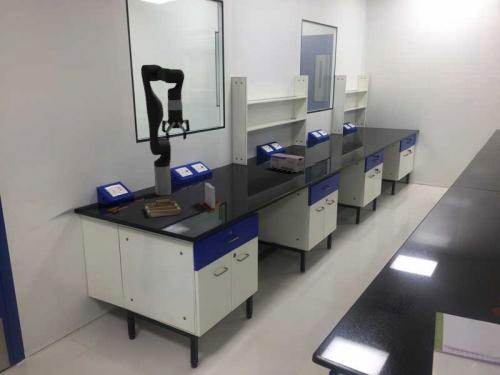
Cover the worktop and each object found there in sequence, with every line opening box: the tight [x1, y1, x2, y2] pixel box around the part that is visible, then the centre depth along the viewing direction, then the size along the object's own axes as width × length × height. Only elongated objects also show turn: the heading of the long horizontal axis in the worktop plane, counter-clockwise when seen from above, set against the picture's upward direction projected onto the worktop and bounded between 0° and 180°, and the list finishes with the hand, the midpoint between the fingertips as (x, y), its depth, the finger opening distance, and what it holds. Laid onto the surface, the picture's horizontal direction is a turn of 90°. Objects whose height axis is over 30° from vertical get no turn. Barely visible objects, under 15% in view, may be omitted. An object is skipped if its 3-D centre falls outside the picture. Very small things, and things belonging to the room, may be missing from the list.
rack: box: [144, 200, 182, 218], centre depth 218 cm, size 15×16×4 cm
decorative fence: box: [106, 198, 149, 214], centre depth 230 cm, size 25×2×10 cm
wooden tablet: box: [200, 199, 223, 214], centre depth 231 cm, size 26×2×10 cm
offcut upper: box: [155, 198, 172, 207], centre depth 221 cm, size 4×7×2 cm, turn 115°
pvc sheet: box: [204, 182, 216, 208], centre depth 229 cm, size 2×12×11 cm, turn 22°
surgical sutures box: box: [269, 152, 306, 173], centre depth 324 cm, size 25×11×11 cm, turn 45°
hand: (176, 139), depth 225 cm, fingers open, 8 cm apart
